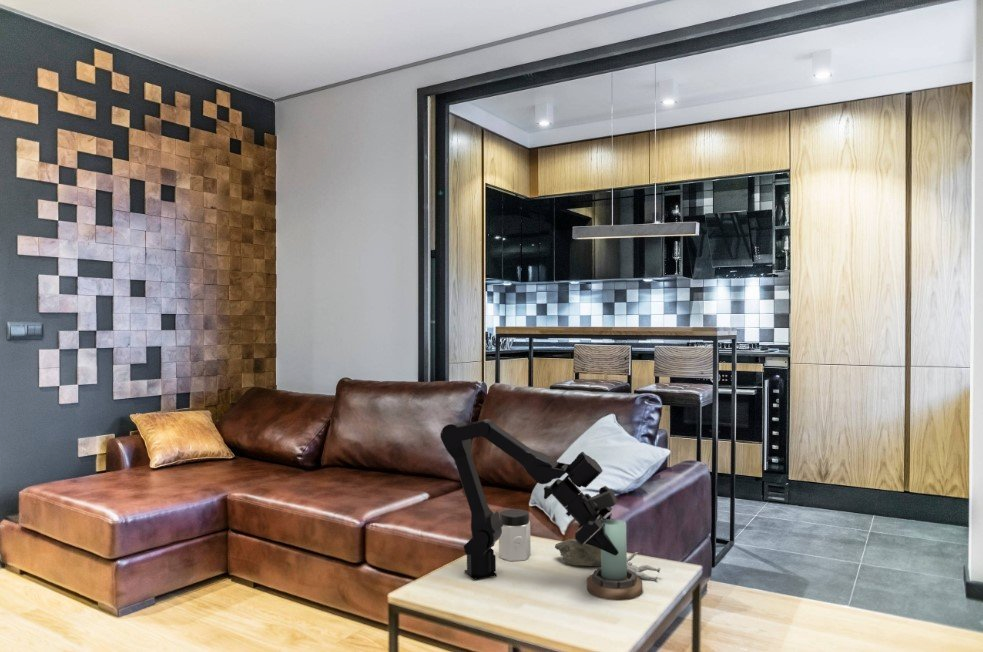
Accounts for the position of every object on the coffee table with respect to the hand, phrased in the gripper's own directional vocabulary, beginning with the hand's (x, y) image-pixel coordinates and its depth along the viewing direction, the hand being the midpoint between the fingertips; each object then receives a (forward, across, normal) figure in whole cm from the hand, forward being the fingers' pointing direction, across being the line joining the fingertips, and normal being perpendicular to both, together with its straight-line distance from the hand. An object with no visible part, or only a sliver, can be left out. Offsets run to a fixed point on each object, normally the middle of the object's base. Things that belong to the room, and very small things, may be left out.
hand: (619, 550), depth 158 cm
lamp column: (+4, 0, +6) cm, 7 cm away
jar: (-15, +16, +29) cm, 36 cm away
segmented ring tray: (+6, 0, +8) cm, 10 cm away
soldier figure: (+9, +10, +5) cm, 14 cm away
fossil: (-2, +16, +16) cm, 23 cm away
